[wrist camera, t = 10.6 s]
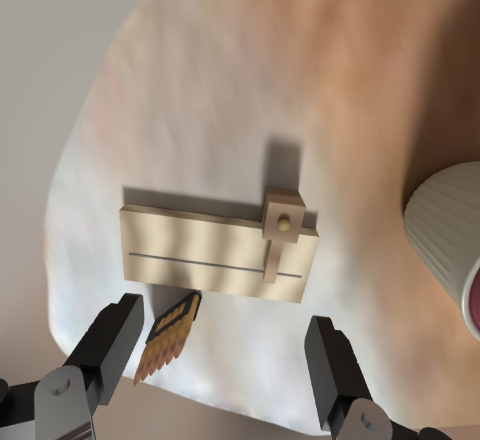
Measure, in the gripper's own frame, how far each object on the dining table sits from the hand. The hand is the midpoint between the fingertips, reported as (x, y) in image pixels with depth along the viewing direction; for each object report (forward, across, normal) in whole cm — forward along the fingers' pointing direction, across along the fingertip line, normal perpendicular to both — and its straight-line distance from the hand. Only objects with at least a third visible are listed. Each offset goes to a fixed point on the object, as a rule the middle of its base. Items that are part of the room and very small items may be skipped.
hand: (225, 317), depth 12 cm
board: (+26, +2, +13) cm, 29 cm away
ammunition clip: (+26, +8, +26) cm, 37 cm away
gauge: (+26, -6, +8) cm, 27 cm away
